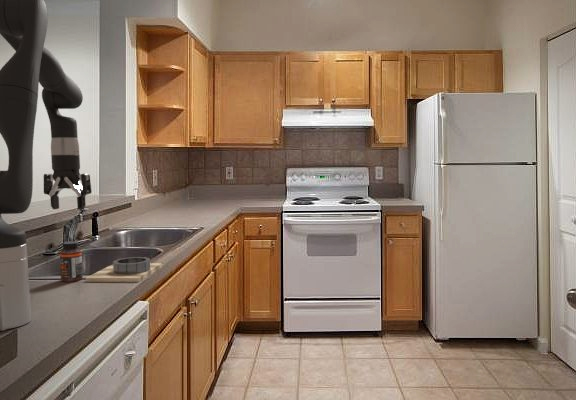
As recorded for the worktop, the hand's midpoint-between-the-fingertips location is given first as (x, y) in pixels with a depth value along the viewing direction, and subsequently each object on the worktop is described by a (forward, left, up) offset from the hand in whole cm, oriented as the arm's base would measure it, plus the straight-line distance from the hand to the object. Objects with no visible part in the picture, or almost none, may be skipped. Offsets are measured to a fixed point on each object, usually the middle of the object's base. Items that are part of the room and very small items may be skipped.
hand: (68, 209), depth 147 cm
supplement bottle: (0, 0, -21) cm, 21 cm away
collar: (+10, -14, -20) cm, 26 cm away
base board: (+10, -12, -21) cm, 26 cm away
